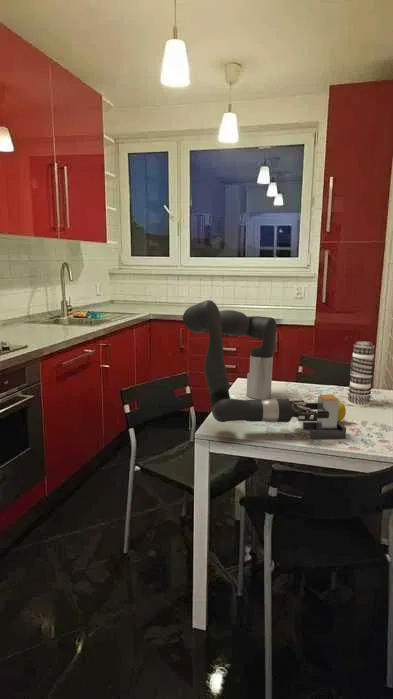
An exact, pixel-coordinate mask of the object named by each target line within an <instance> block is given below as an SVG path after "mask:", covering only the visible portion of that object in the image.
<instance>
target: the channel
mask: <svg viewBox="0 0 393 699" xmlns="http://www.w3.org/2000/svg"><path fill="white" fill-rule="evenodd" d="M301 428H302V430H303V431H310V432H309V438H310V439H311V440H330V439H331V440H332V439H333V440H336V439H337V440H341V439H346V438H347V437H346V436H347V427H346V426H344V425H343V424H342V422H340V421H338V420H337V430H316V422H315V421H302V427H301Z"/></svg>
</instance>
